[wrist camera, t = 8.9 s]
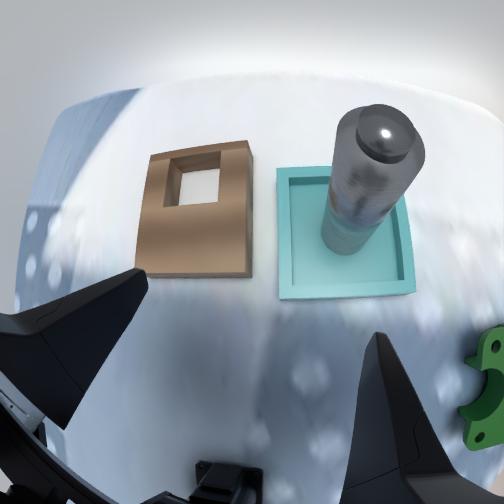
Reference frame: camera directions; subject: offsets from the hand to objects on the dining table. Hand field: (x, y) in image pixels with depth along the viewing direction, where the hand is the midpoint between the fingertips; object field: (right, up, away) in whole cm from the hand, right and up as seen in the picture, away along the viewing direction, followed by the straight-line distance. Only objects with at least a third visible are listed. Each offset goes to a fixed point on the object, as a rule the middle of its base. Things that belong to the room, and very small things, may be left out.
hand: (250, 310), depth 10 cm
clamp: (+23, -11, +8) cm, 26 cm away
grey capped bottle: (+8, +4, +13) cm, 15 cm away
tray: (+8, +3, +14) cm, 16 cm away
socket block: (-5, +5, +16) cm, 18 cm away
